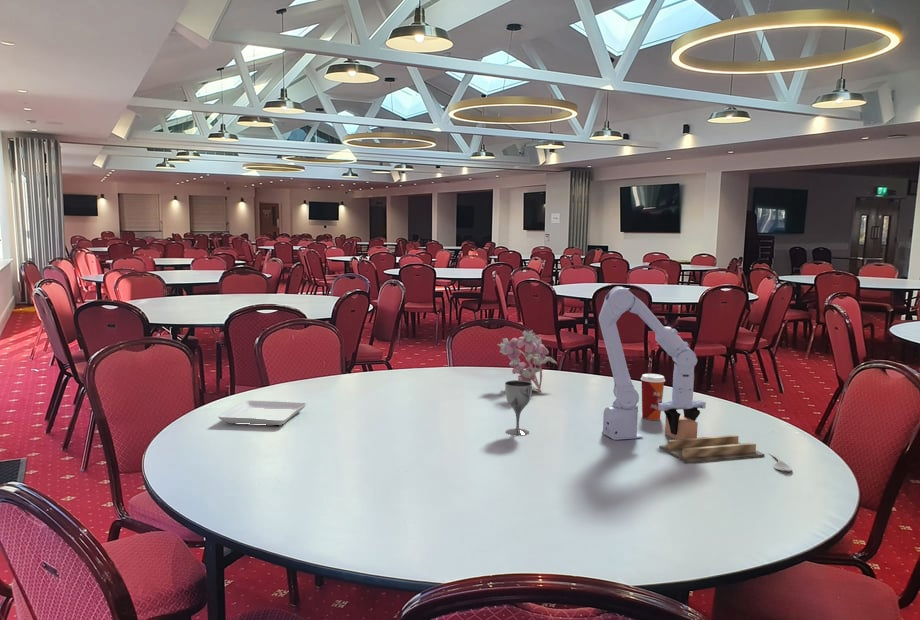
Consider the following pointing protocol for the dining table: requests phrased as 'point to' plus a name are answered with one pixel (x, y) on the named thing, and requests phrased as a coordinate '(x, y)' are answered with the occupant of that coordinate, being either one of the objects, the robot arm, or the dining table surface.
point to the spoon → (780, 463)
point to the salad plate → (243, 407)
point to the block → (683, 428)
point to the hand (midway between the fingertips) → (680, 433)
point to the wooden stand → (710, 449)
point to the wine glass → (518, 401)
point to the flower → (526, 356)
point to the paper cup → (652, 395)
